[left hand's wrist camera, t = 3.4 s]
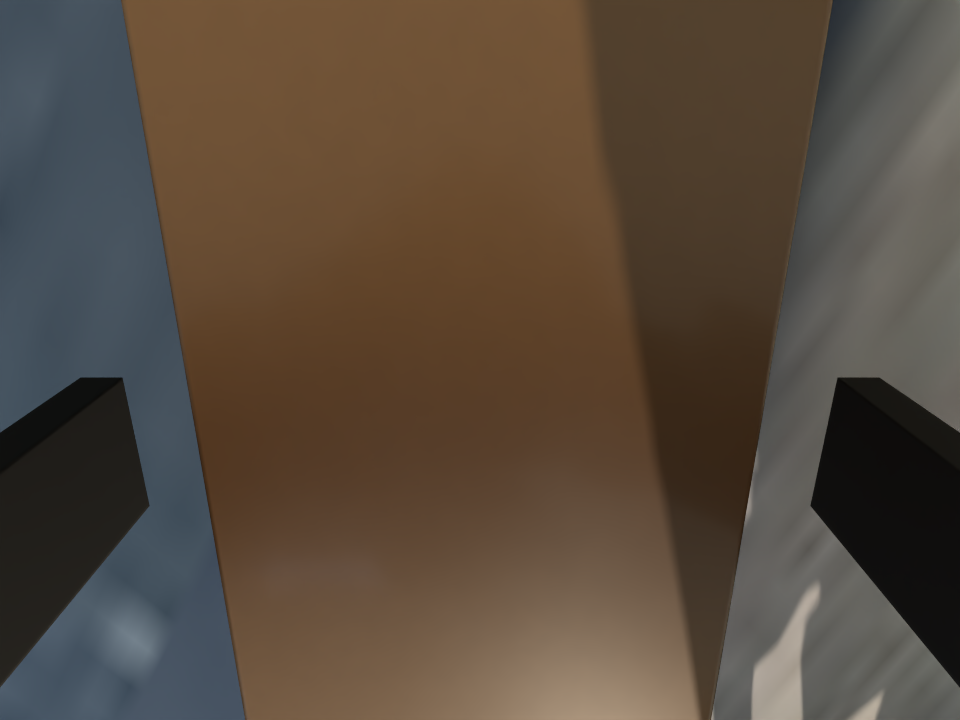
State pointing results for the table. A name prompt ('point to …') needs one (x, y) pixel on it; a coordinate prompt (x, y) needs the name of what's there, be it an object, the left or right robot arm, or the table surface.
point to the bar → (477, 334)
